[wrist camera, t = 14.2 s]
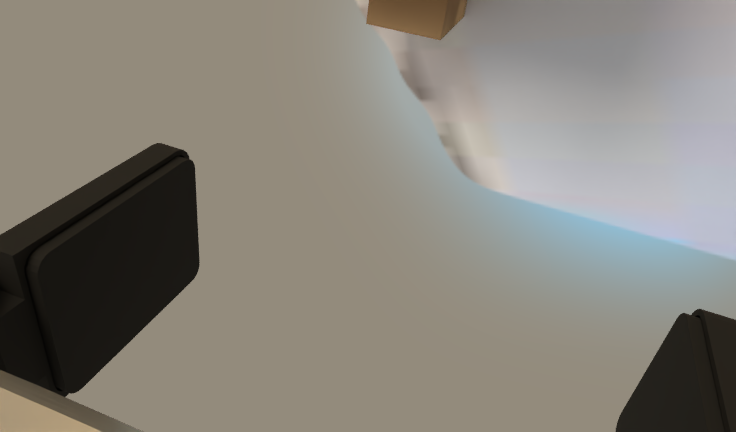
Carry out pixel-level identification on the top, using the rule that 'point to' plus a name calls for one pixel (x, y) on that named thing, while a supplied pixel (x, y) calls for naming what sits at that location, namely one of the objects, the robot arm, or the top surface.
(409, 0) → the brown piece
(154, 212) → the robot arm
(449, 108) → the top surface
